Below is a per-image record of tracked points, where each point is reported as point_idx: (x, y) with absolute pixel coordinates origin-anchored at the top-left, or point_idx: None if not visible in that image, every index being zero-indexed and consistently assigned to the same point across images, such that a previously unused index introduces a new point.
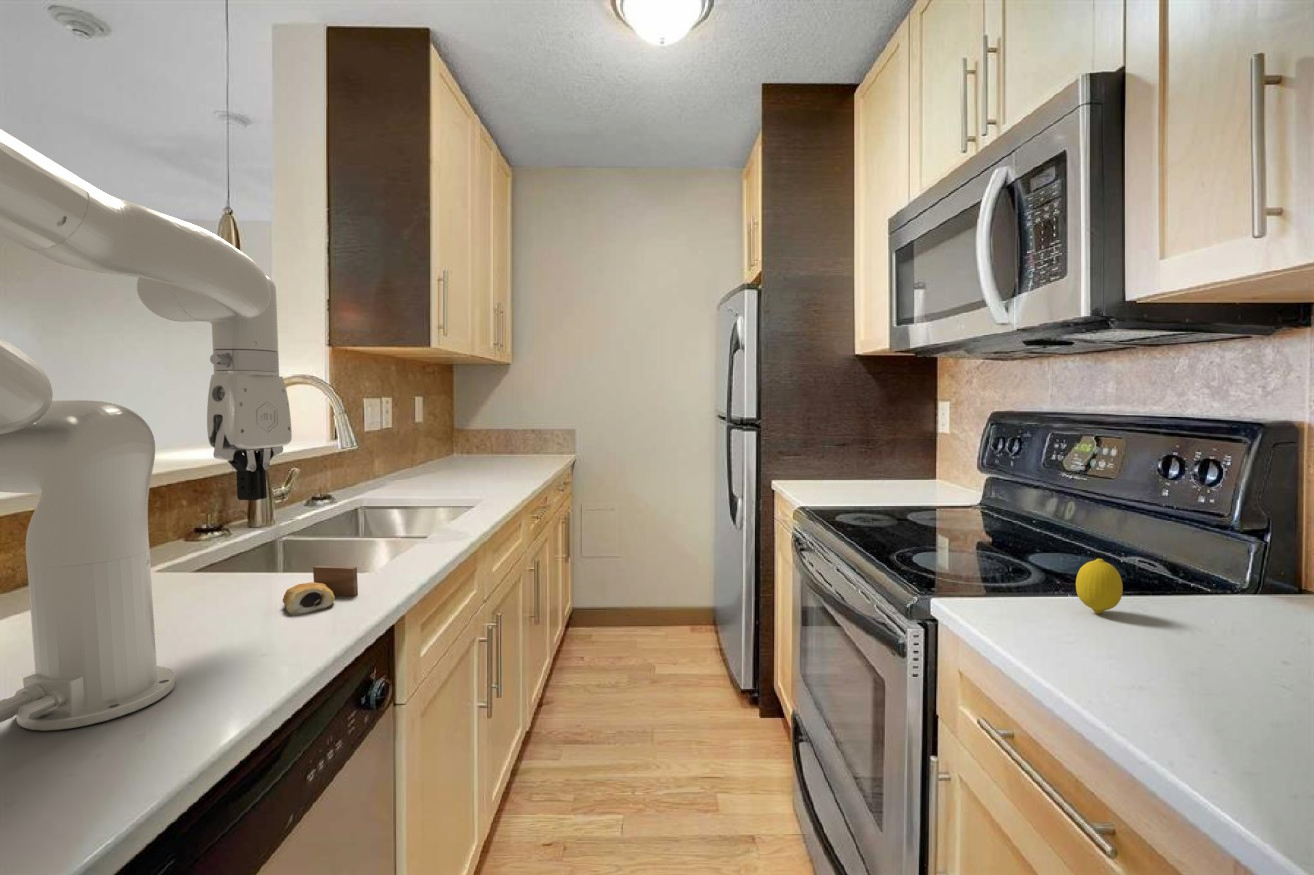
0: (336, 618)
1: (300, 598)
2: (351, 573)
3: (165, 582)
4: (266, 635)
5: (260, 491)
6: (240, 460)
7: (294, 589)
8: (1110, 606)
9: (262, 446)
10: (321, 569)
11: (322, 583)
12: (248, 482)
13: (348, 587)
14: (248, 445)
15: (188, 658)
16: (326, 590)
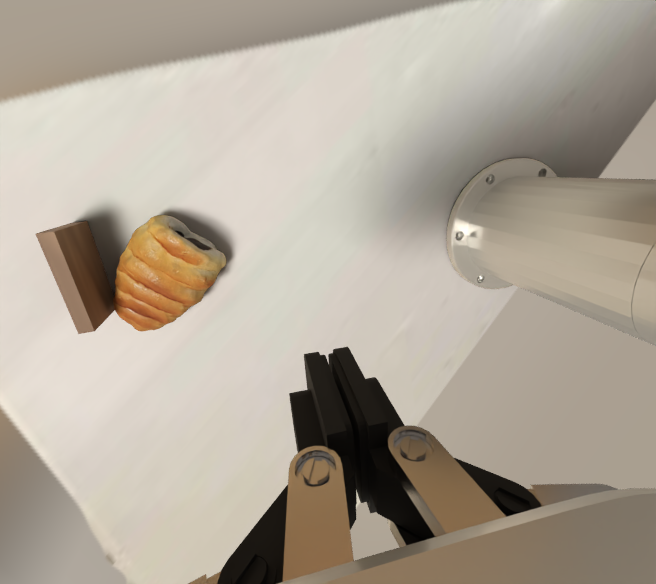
0: (209, 157)
1: (207, 251)
2: (62, 234)
3: (175, 549)
4: (310, 215)
5: (340, 362)
6: (488, 485)
7: (195, 280)
8: None
9: (485, 528)
10: (88, 310)
11: (133, 265)
12: (387, 403)
13: (82, 236)
14: (645, 503)
15: (398, 246)
16: (160, 226)
